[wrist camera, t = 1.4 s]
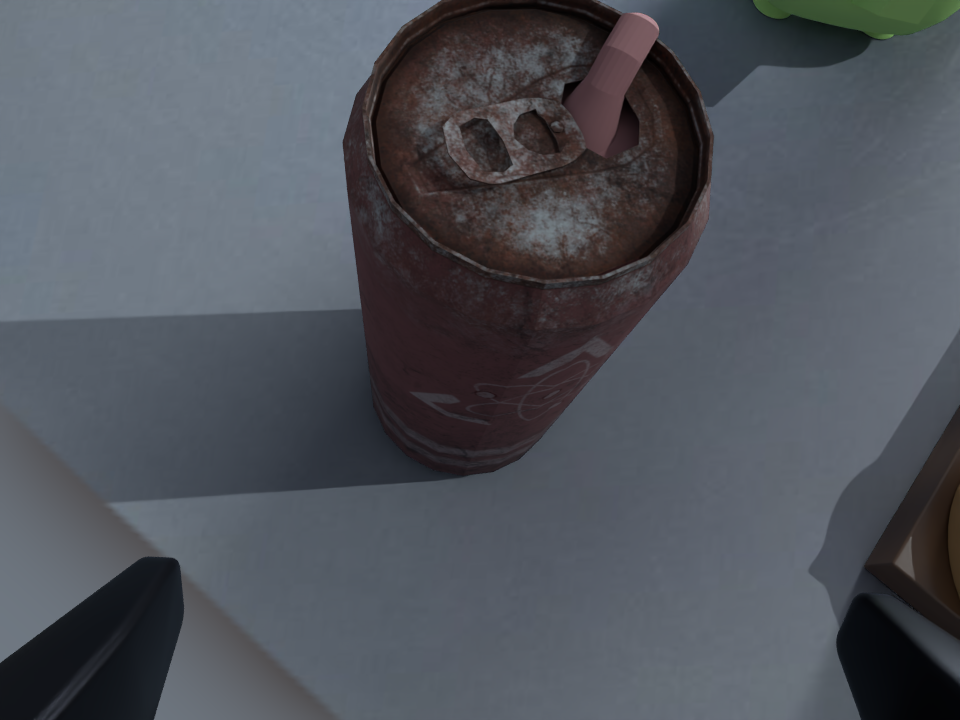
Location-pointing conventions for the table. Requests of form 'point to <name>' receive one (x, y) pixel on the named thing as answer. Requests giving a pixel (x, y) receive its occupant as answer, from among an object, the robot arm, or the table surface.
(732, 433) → the table surface
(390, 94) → the can
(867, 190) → the table surface
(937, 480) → the stand
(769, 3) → the teapot
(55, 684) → the robot arm
